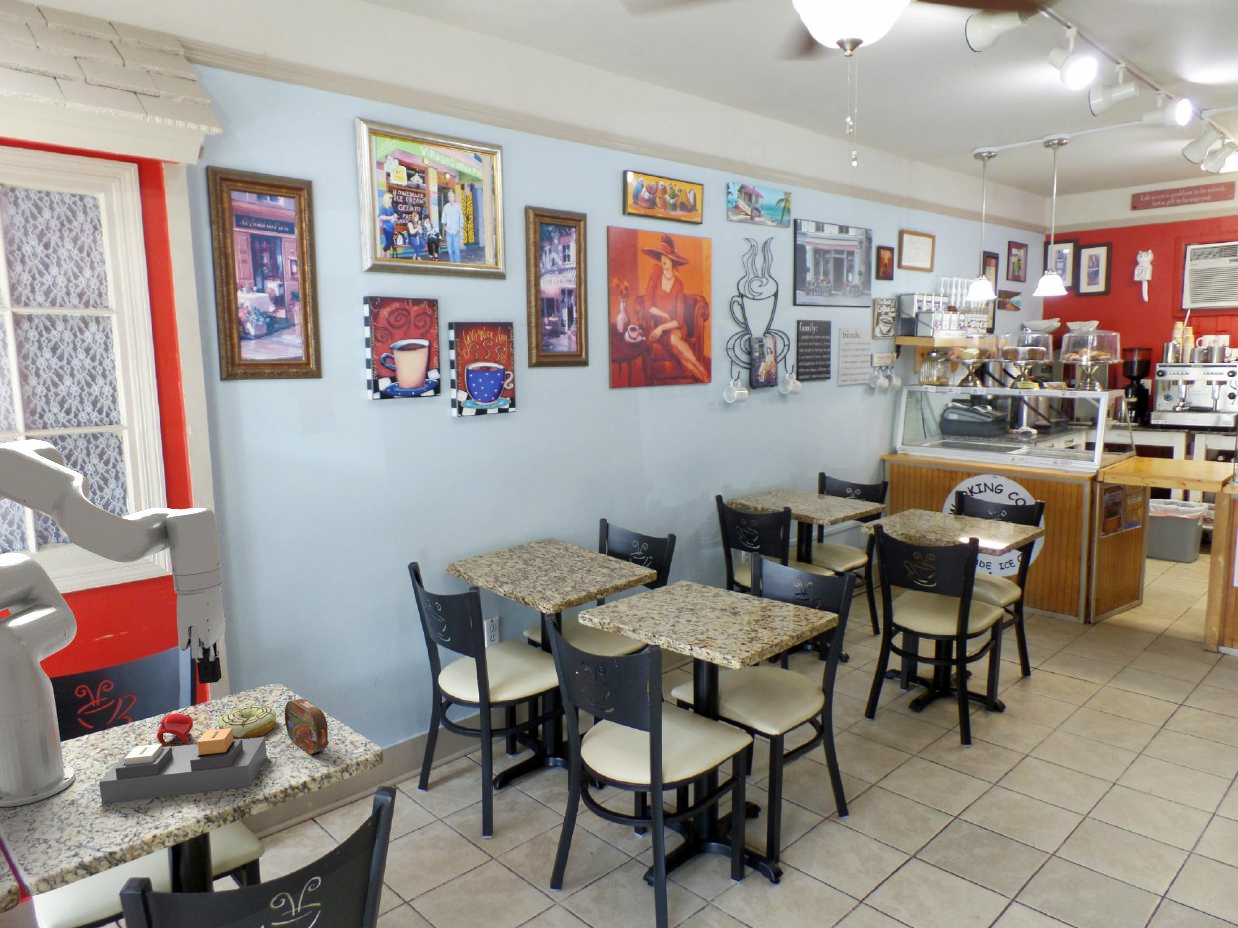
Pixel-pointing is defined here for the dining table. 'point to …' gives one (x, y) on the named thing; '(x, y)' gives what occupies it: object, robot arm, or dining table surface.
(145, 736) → the dining table surface
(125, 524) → the robot arm
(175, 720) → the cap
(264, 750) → the grey button panel
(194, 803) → the dining table surface
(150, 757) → the cream button
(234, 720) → the decorated donut
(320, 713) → the tin
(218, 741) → the orange button
